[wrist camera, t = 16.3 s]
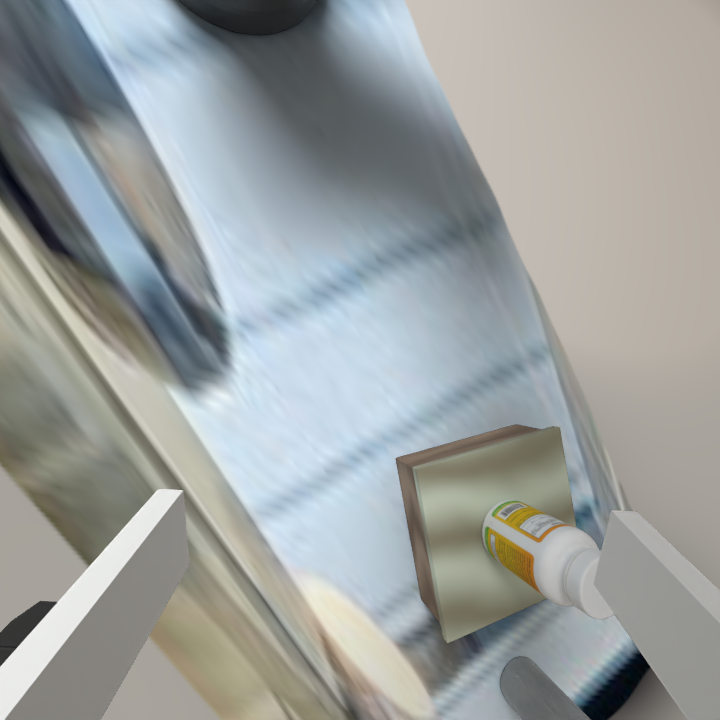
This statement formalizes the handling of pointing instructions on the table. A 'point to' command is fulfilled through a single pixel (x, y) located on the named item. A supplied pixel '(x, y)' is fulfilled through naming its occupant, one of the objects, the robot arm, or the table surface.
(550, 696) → the grey hollow cylinder
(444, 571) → the podium
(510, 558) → the supplement bottle
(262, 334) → the table surface
